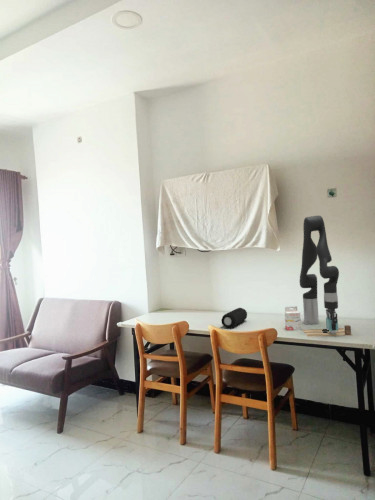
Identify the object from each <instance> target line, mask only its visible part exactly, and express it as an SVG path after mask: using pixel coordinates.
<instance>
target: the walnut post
mask: <svg viewBox="0 0 375 500" xmlns="http://www.w3.org/2000/svg"><path fill="white" fill-rule="evenodd" d="M343 326H344V329H345V334H346V335H345V336H352V335H351V334H352V328H351V325H347V324H345V325H343Z"/></svg>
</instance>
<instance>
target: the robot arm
mask: <svg viewBox="0 0 375 500" xmlns="http://www.w3.org/2000/svg"><path fill="white" fill-rule="evenodd" d="M302 224H303V227H302V229H303V241H302V242H303V243H302V253H301V268H300V274H299V286H300V288H301V289H309V290H308V291H306V292H304V293H302V303H303V304H302V305H303V306H302V307H303V321H304V322H303V324H304V325H319V323H320V322H319V321H320V320H319V305H318V304H319V303H318V302H319V300H318V277H317V275H316V274H315V273H308V272H309V270H310V269H311V268H312V267H313V265H314V264H315V263H316V261H317V259H318V261H319V275H320V277H321V278H323V279H324V280H325V279H328V280H327V281H326V282H324V283H323V307H324V308H325V313H326V318H330V320H331V323H332V324H331V325H332V330H336V323H337V319H338V313H337V312H336V309H338V308H339V299H338V298H339V297H338V289H337V284H338V281H339V277H340V271H339V268H338V267H337V266H336V265H329V266H328V263H330V262H332V260H333V259H332V255H331V252H330V249H329V244H328V239H327V233H326V226H325V220H324V219H323V216H321V215H313V216H306V217H305V218H304V219H303V223H302ZM312 232H318V234H319V236H318V242H317V244H316V243H315V242H314V241H313V239H312ZM334 320H335V321H334Z"/></svg>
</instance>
